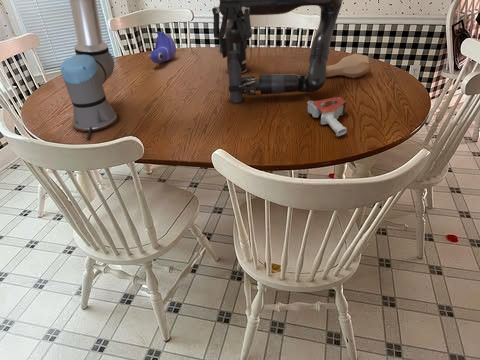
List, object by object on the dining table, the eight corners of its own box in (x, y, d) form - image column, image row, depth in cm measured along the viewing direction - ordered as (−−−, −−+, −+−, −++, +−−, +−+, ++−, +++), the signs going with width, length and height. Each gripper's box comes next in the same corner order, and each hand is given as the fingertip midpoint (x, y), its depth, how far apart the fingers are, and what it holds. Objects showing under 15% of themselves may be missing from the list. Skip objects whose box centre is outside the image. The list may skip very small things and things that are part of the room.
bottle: (244, 98, 144) (242, 52, 133) (239, 103, 141) (236, 56, 130) (233, 97, 146) (230, 51, 135) (228, 101, 142) (224, 55, 131)
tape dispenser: (341, 143, 115) (361, 114, 127) (344, 129, 111) (364, 101, 124) (292, 129, 122) (315, 103, 135) (293, 115, 119) (316, 90, 131)
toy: (164, 63, 199) (144, 69, 176) (159, 31, 192) (138, 32, 170) (181, 62, 196) (162, 68, 174) (177, 30, 190) (157, 31, 167)
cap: (231, 55, 136) (230, 50, 134) (241, 56, 134) (241, 50, 133) (226, 59, 132) (225, 53, 131) (237, 60, 131) (236, 54, 130)
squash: (372, 78, 155) (374, 59, 148) (326, 86, 156) (326, 68, 150) (365, 66, 162) (367, 47, 156) (321, 74, 164) (321, 56, 157)
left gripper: (198, -10, 120) (206, 58, 133) (253, -10, 114) (255, 62, 127) (208, -14, 125) (214, 52, 139) (260, -14, 119) (261, 55, 133)
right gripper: (270, 68, 143) (228, 70, 143) (273, 81, 131) (227, 83, 132) (270, 86, 147) (230, 88, 148) (273, 100, 136) (229, 102, 136)
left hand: (233, 57), depth 133 cm, fingers open, 6 cm apart
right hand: (229, 86), depth 140 cm, fingers closed on bottle, 5 cm apart
